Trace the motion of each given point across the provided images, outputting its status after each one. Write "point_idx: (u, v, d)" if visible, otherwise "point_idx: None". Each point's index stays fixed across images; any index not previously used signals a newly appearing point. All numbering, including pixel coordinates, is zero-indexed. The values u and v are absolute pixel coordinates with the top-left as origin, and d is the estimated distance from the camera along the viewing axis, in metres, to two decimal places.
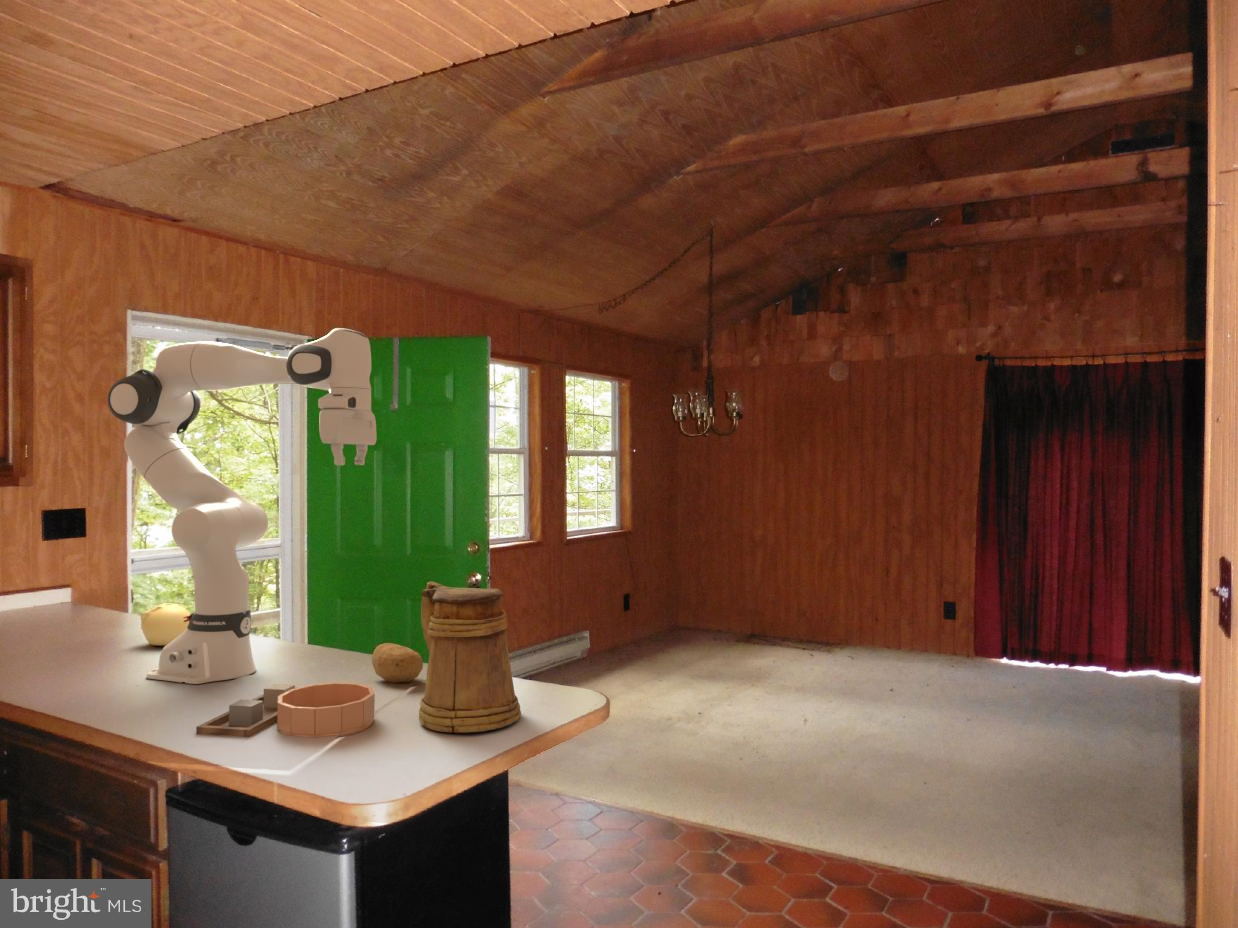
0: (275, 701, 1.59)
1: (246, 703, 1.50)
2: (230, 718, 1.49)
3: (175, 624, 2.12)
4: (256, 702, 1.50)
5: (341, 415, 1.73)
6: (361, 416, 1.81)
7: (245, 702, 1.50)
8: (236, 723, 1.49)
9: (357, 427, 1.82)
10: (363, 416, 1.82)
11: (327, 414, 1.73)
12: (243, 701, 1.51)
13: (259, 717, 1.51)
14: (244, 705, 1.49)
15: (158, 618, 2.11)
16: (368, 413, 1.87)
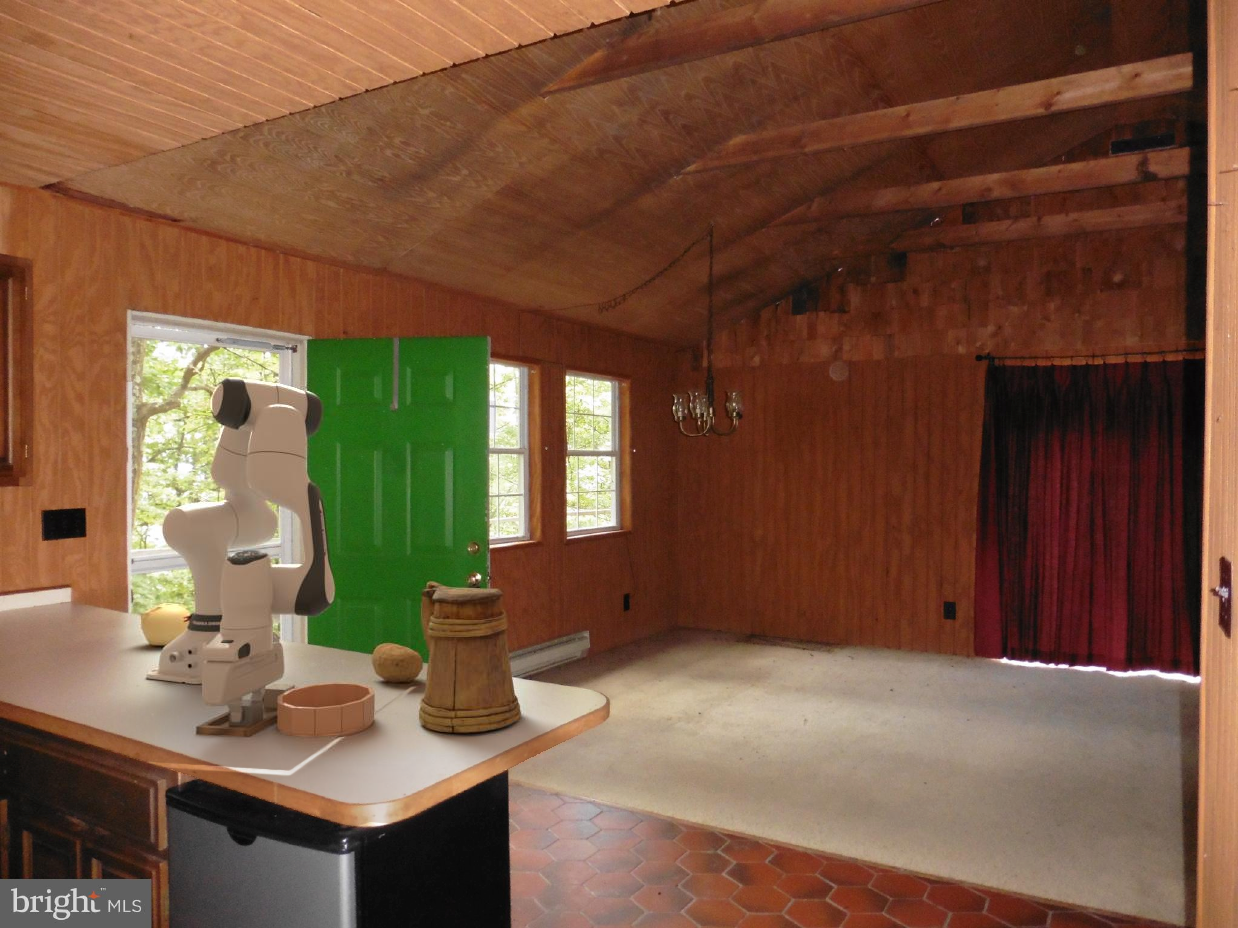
0: (275, 701, 1.59)
1: (246, 703, 1.50)
2: (230, 718, 1.49)
3: (175, 624, 2.12)
4: (256, 702, 1.50)
5: (229, 671, 1.41)
6: (259, 659, 1.49)
7: (245, 702, 1.50)
8: (236, 722, 1.49)
9: (255, 671, 1.50)
10: (262, 658, 1.50)
11: (211, 670, 1.41)
12: (243, 701, 1.51)
13: (259, 717, 1.51)
14: (244, 705, 1.49)
15: (158, 618, 2.11)
16: None
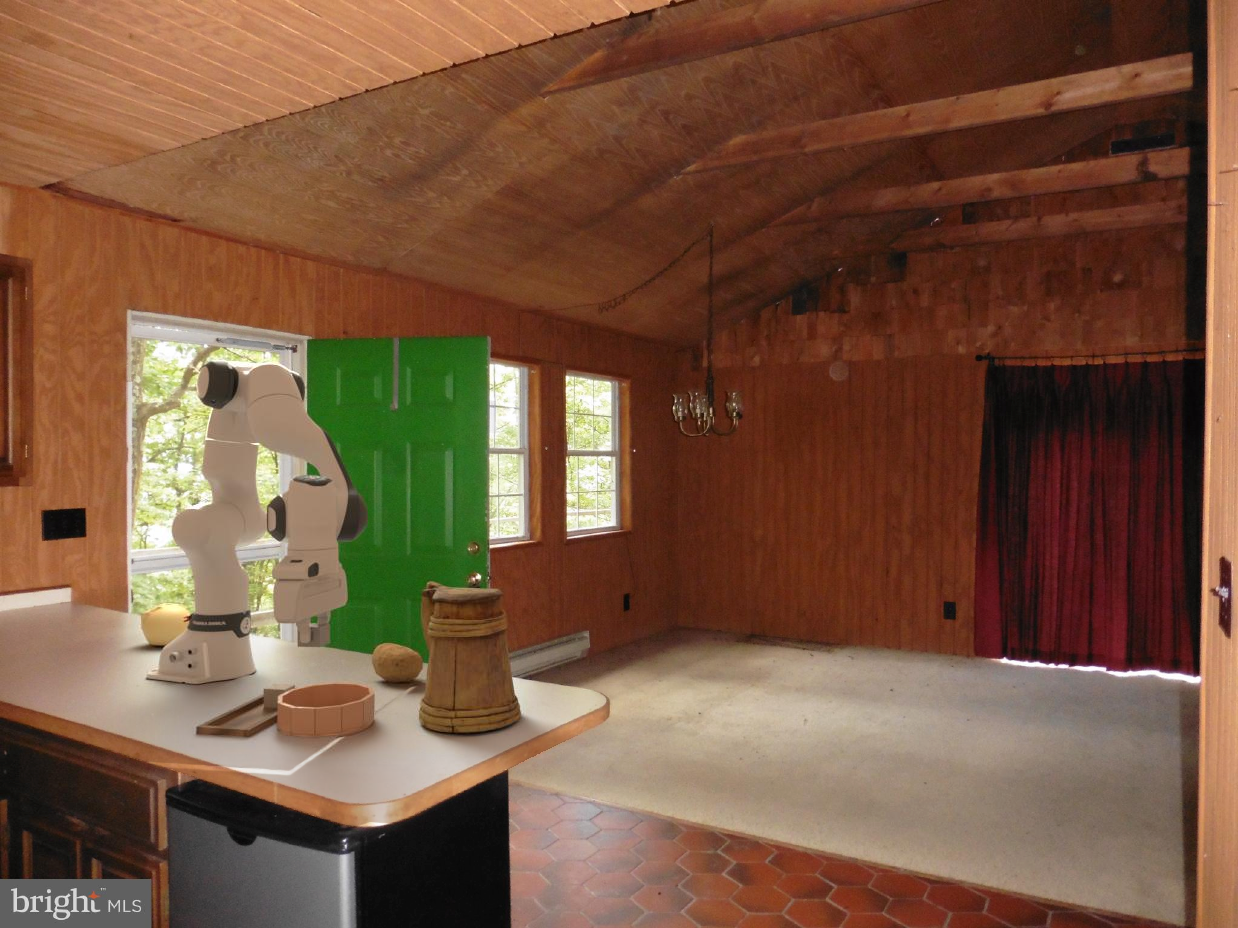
0: (275, 701, 1.59)
1: (314, 625, 1.51)
2: (298, 640, 1.50)
3: (175, 624, 2.12)
4: (323, 624, 1.51)
5: (300, 589, 1.42)
6: (326, 581, 1.50)
7: (313, 624, 1.51)
8: (304, 644, 1.50)
9: (322, 593, 1.51)
10: (329, 580, 1.51)
11: (282, 588, 1.42)
12: (310, 624, 1.52)
13: (326, 639, 1.52)
14: (312, 626, 1.50)
15: (158, 618, 2.11)
16: None
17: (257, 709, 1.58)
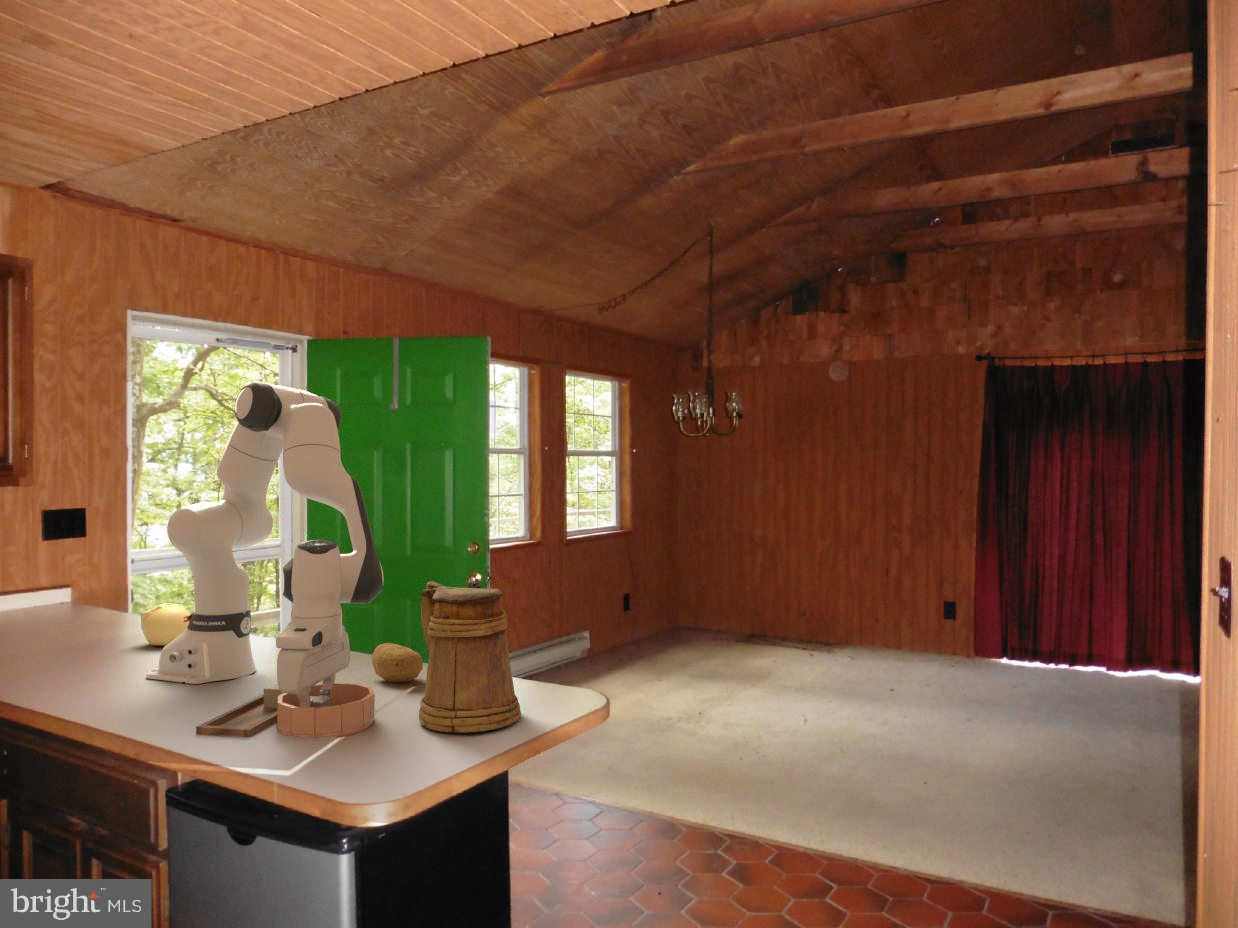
0: (275, 701, 1.59)
1: (316, 699, 1.51)
2: None
3: (175, 624, 2.12)
4: (326, 699, 1.52)
5: (303, 659, 1.43)
6: (329, 648, 1.50)
7: (315, 698, 1.52)
8: None
9: (325, 659, 1.51)
10: (332, 646, 1.51)
11: (286, 658, 1.42)
12: (313, 697, 1.53)
13: None
14: (315, 701, 1.50)
15: (158, 618, 2.11)
16: None
17: (257, 709, 1.58)
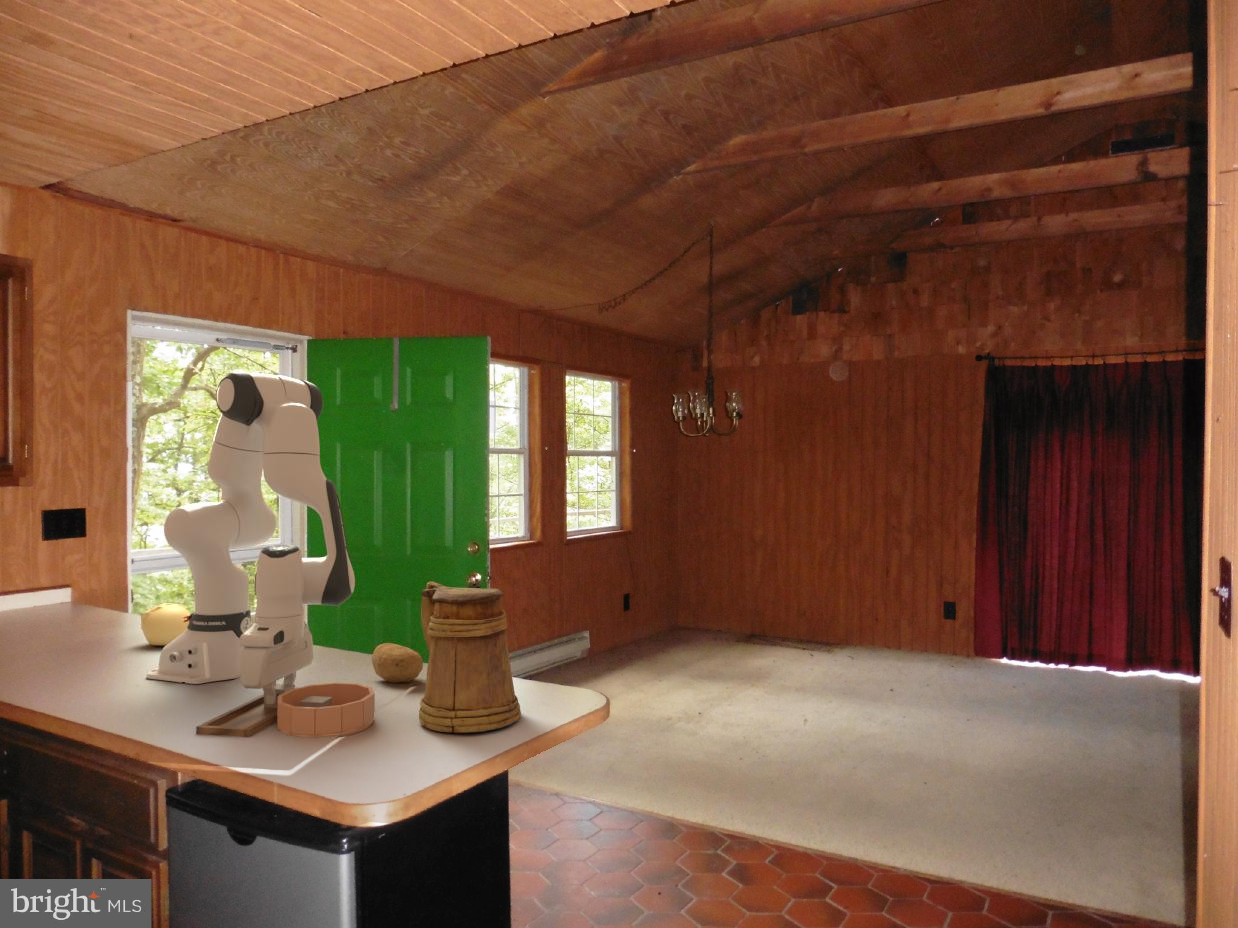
0: None
1: (316, 699, 1.51)
2: None
3: (175, 624, 2.12)
4: (326, 699, 1.52)
5: (265, 656, 1.52)
6: (292, 646, 1.60)
7: (315, 698, 1.52)
8: None
9: (287, 657, 1.61)
10: (294, 645, 1.61)
11: (249, 655, 1.52)
12: (313, 697, 1.53)
13: None
14: (315, 701, 1.50)
15: (158, 618, 2.11)
16: None
17: (257, 709, 1.58)
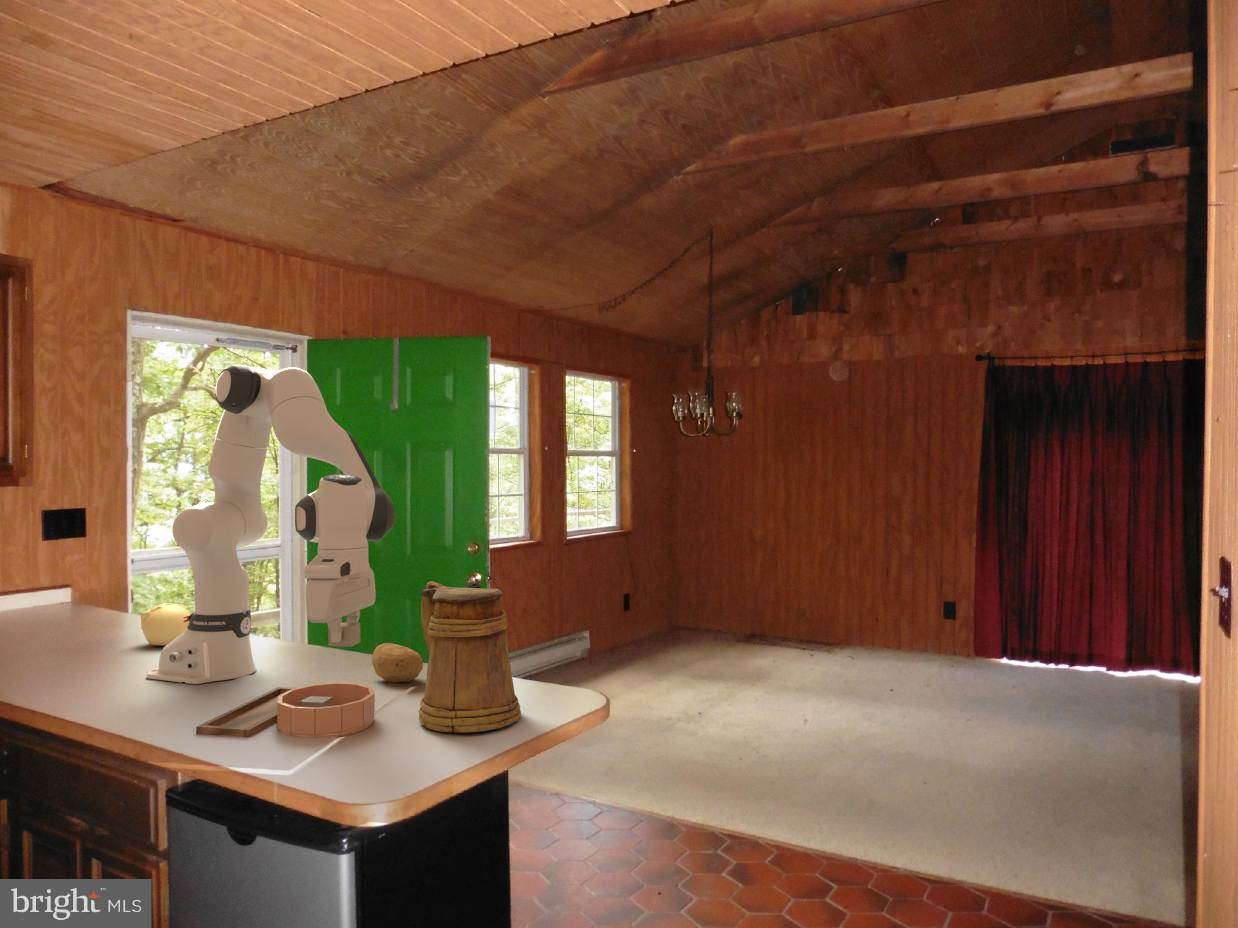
0: None
1: (316, 699, 1.51)
2: None
3: (175, 624, 2.12)
4: (326, 699, 1.52)
5: (332, 588, 1.42)
6: (357, 580, 1.50)
7: (315, 698, 1.52)
8: None
9: (352, 593, 1.51)
10: (359, 579, 1.51)
11: (315, 587, 1.42)
12: (313, 697, 1.53)
13: None
14: (315, 701, 1.50)
15: (158, 618, 2.11)
16: None
17: (257, 709, 1.58)
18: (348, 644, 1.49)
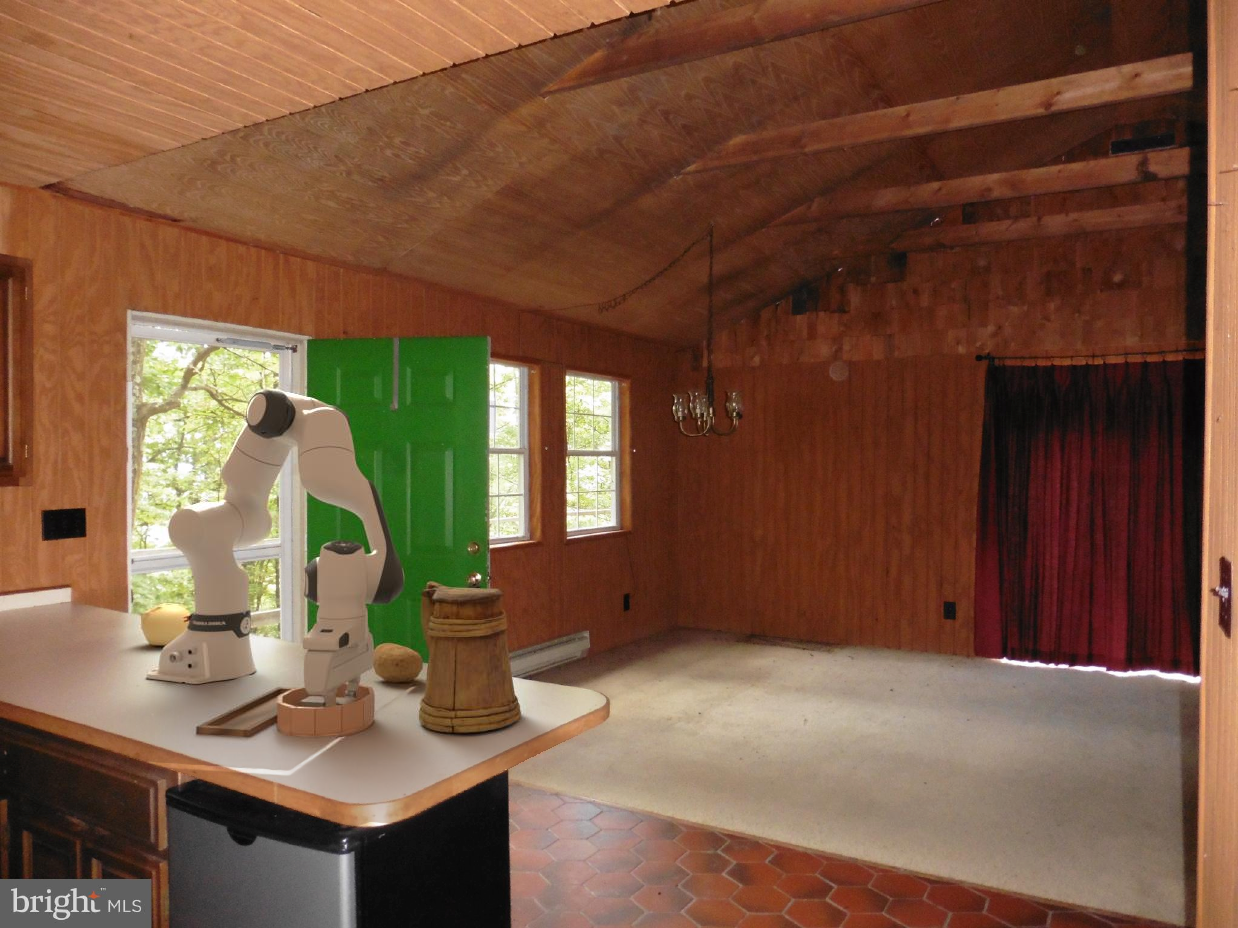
0: None
1: (316, 699, 1.51)
2: None
3: (175, 624, 2.12)
4: None
5: (331, 660, 1.42)
6: (355, 649, 1.50)
7: (315, 698, 1.52)
8: None
9: (350, 661, 1.51)
10: (358, 647, 1.50)
11: (313, 659, 1.42)
12: (313, 697, 1.53)
13: None
14: (315, 701, 1.50)
15: (158, 618, 2.11)
16: None
17: (257, 709, 1.58)
18: None
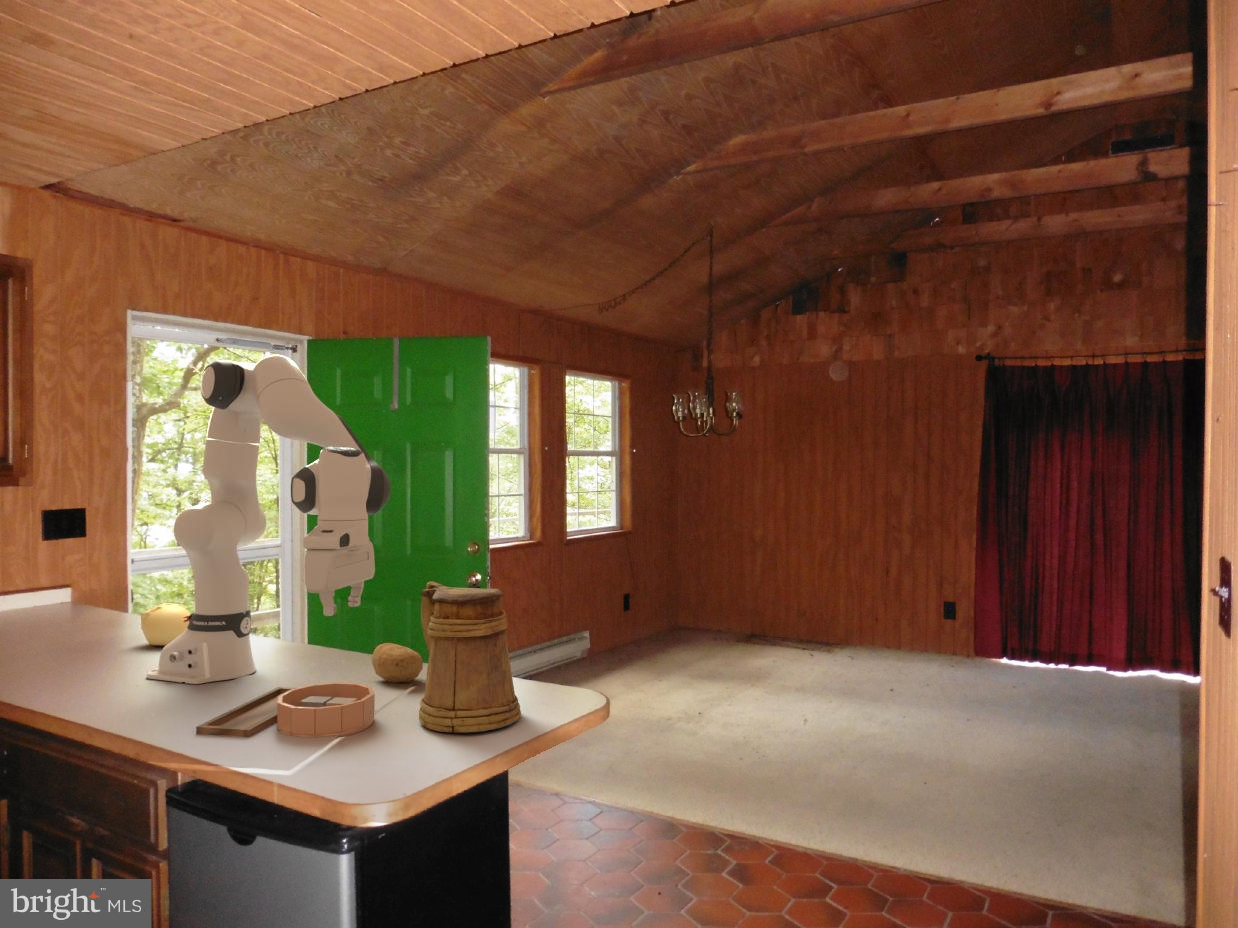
0: None
1: (316, 699, 1.51)
2: None
3: (175, 624, 2.12)
4: (326, 699, 1.52)
5: (331, 559, 1.42)
6: (356, 552, 1.50)
7: (315, 698, 1.52)
8: None
9: (351, 565, 1.50)
10: (358, 552, 1.50)
11: (314, 557, 1.42)
12: (313, 697, 1.53)
13: None
14: (315, 701, 1.50)
15: (158, 618, 2.11)
16: (365, 543, 1.56)
17: (257, 709, 1.58)
18: None
